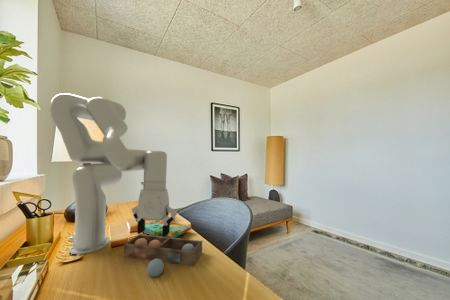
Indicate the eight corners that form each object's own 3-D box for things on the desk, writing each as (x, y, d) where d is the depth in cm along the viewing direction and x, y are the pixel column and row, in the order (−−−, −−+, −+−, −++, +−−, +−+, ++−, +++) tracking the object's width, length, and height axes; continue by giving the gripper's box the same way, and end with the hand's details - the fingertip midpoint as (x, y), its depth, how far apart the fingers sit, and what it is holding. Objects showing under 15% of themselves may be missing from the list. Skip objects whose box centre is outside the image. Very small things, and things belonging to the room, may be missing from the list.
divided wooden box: (123, 258, 61) (123, 244, 62) (139, 246, 70) (139, 234, 70) (193, 268, 56) (193, 253, 56) (202, 254, 64) (202, 240, 64)
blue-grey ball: (178, 261, 59) (179, 246, 59) (184, 253, 64) (184, 240, 64) (192, 262, 58) (192, 248, 58) (197, 255, 63) (197, 241, 63)
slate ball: (143, 279, 51) (143, 263, 51) (153, 269, 56) (153, 254, 56) (158, 282, 50) (158, 265, 50) (166, 271, 55) (166, 256, 55)
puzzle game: (160, 216, 91) (191, 224, 80) (160, 225, 90) (191, 235, 80) (139, 224, 81) (170, 234, 70) (139, 234, 80) (170, 246, 70)
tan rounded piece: (130, 254, 63) (130, 241, 63) (139, 247, 68) (139, 235, 68) (142, 255, 62) (142, 242, 62) (150, 249, 67) (150, 236, 67)
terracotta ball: (144, 256, 62) (144, 242, 62) (152, 249, 66) (152, 236, 67) (156, 258, 61) (156, 244, 61) (163, 250, 65) (163, 238, 66)
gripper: (126, 185, 62) (124, 235, 62) (171, 189, 59) (170, 242, 59) (140, 182, 70) (138, 227, 69) (182, 185, 66) (180, 232, 66)
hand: (153, 233), depth 64 cm, fingers open, 9 cm apart
